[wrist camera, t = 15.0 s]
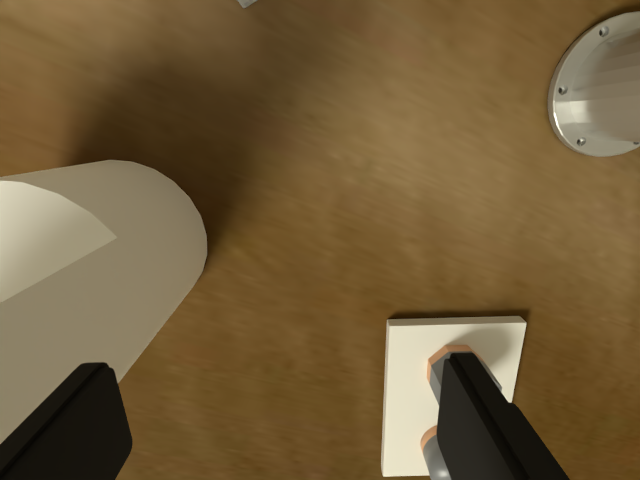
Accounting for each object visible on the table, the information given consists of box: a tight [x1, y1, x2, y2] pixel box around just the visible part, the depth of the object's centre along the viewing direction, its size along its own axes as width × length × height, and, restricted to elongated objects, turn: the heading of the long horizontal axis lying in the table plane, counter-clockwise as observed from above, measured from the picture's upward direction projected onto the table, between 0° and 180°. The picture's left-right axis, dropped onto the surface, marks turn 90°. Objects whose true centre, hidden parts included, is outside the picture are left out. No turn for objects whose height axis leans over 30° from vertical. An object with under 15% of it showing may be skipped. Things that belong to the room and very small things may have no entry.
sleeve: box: [427, 345, 502, 405], centre depth 39 cm, size 6×6×5 cm
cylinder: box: [0, 160, 207, 444], centre depth 25 cm, size 17×17×28 cm
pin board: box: [381, 316, 527, 480], centre depth 42 cm, size 16×24×6 cm, turn 2°
